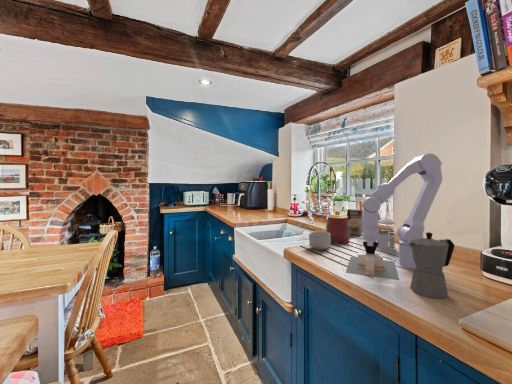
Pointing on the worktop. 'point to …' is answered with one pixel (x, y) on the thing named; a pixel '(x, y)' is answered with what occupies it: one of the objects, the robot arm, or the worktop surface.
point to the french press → (386, 236)
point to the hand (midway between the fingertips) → (370, 259)
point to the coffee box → (355, 221)
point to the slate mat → (382, 272)
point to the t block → (370, 260)
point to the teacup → (319, 240)
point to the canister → (338, 227)
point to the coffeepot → (430, 266)
